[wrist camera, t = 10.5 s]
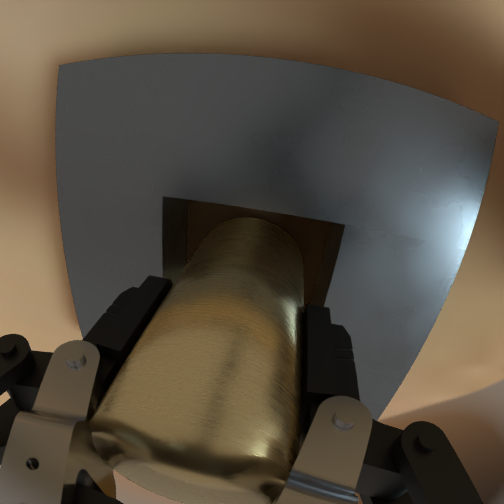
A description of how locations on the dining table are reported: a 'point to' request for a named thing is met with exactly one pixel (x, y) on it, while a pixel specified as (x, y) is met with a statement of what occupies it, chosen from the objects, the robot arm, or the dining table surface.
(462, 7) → the dining table surface
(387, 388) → the plate
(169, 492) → the translucent olive cylinder
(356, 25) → the dining table surface
